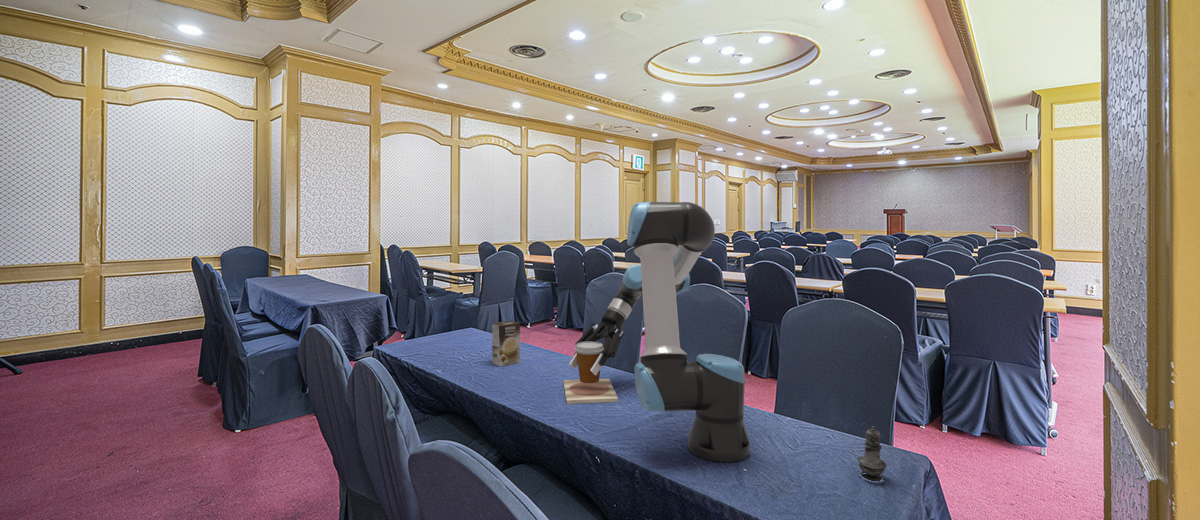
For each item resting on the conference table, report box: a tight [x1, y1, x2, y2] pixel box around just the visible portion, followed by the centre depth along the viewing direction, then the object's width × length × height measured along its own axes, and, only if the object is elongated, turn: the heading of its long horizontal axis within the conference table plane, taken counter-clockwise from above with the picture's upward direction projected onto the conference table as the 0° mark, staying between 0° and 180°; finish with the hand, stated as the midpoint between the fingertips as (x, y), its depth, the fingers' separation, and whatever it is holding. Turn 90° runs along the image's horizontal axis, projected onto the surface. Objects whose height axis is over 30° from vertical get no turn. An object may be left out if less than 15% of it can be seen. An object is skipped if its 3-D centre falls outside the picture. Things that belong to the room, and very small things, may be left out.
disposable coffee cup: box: [574, 341, 604, 383], centre depth 176 cm, size 10×10×12 cm
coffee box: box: [491, 320, 521, 367], centre depth 210 cm, size 9×6×16 cm
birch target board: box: [563, 378, 619, 405], centre depth 176 cm, size 20×16×1 cm
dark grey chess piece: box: [857, 425, 888, 481], centre depth 119 cm, size 6×6×12 cm
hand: (582, 369), depth 174 cm, fingers closed on disposable coffee cup, 9 cm apart
